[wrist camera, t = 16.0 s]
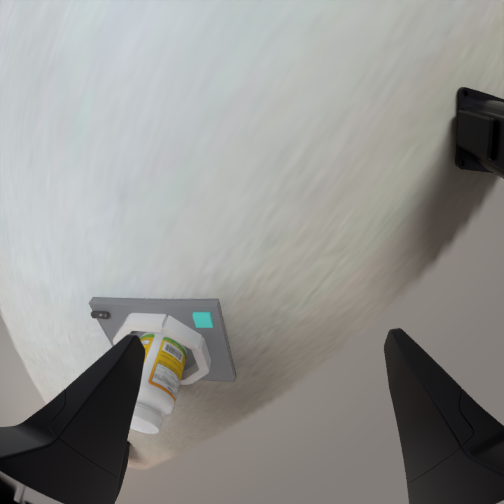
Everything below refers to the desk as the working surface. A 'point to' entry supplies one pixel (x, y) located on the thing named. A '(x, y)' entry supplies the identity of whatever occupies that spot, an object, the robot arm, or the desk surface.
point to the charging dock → (183, 315)
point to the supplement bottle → (158, 381)
